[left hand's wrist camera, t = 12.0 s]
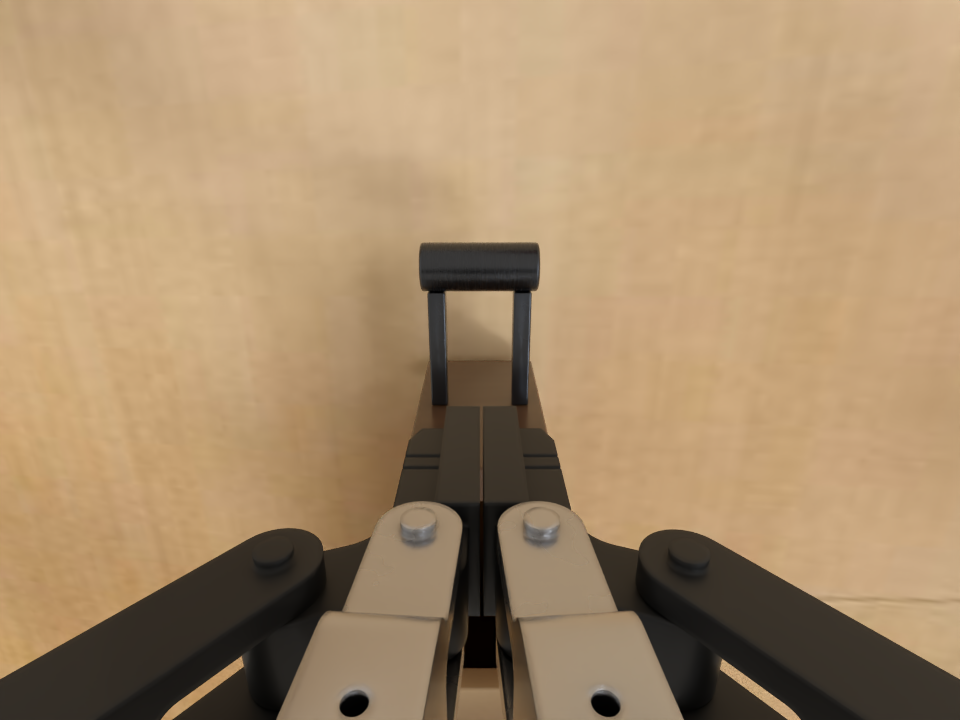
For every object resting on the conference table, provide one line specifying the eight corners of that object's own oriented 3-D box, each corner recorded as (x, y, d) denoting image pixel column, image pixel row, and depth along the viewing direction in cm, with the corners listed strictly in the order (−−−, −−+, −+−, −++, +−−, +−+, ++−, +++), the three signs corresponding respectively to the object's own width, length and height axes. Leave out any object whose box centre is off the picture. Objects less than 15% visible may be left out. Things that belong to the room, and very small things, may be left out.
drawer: (423, 225, 23) (391, 272, 14) (535, 225, 23) (566, 272, 14) (440, 669, 31) (426, 854, 23) (520, 669, 31) (535, 854, 23)
